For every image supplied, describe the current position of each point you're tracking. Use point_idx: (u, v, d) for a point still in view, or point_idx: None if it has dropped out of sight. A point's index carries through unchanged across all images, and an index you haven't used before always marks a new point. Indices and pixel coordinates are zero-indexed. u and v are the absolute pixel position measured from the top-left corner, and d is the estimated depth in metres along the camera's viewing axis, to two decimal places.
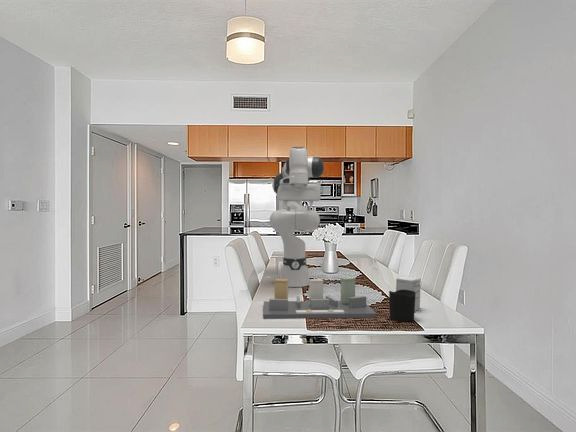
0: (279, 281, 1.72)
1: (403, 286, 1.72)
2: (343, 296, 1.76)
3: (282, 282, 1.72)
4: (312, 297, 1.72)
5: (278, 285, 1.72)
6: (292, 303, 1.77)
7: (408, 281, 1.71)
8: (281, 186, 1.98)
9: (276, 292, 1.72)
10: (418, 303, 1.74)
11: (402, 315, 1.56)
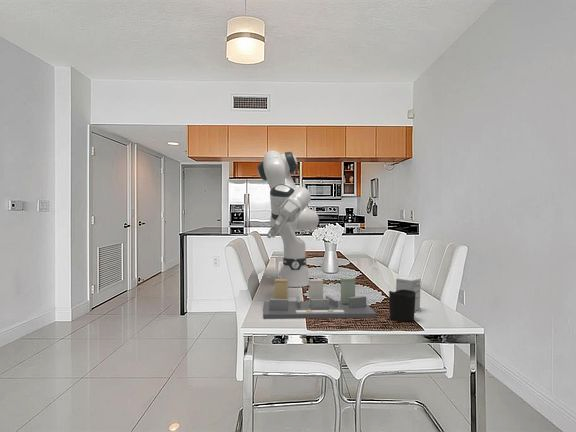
0: (279, 281, 1.72)
1: (403, 286, 1.72)
2: (343, 296, 1.76)
3: (282, 282, 1.72)
4: (312, 297, 1.72)
5: (278, 285, 1.72)
6: (292, 303, 1.77)
7: (408, 281, 1.71)
8: (296, 209, 1.83)
9: (276, 292, 1.72)
10: (418, 303, 1.74)
11: (402, 315, 1.56)
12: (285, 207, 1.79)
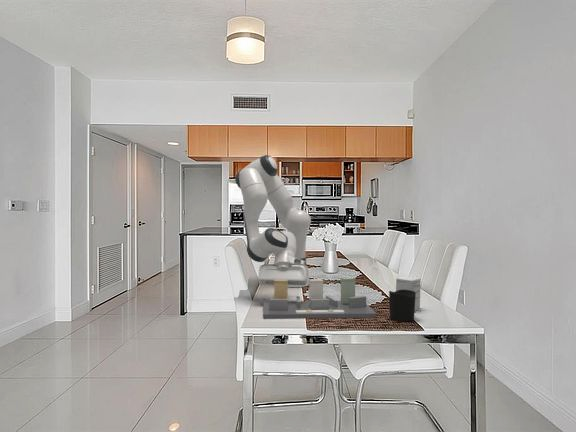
0: (279, 281, 1.71)
1: (402, 286, 1.72)
2: (343, 296, 1.76)
3: (282, 282, 1.71)
4: (312, 297, 1.72)
5: (278, 285, 1.71)
6: (292, 303, 1.77)
7: (408, 281, 1.71)
8: None
9: (276, 292, 1.72)
10: (418, 303, 1.74)
11: (402, 315, 1.56)
12: (306, 278, 1.77)
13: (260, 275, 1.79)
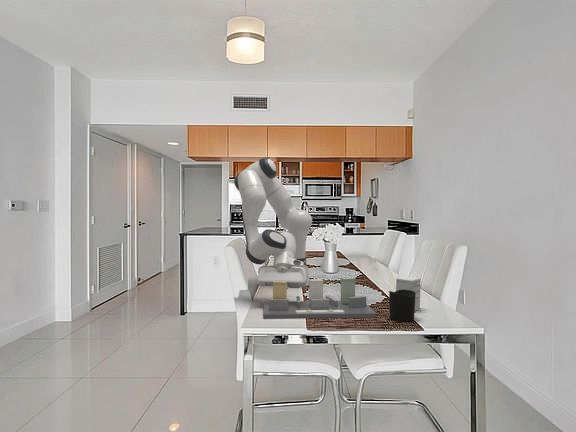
0: (278, 283, 1.68)
1: (403, 286, 1.72)
2: (343, 296, 1.76)
3: (281, 284, 1.68)
4: (312, 297, 1.72)
5: (277, 287, 1.68)
6: (292, 303, 1.77)
7: (408, 281, 1.71)
8: None
9: (274, 294, 1.68)
10: (418, 303, 1.74)
11: (402, 314, 1.56)
12: (306, 280, 1.74)
13: (259, 277, 1.76)
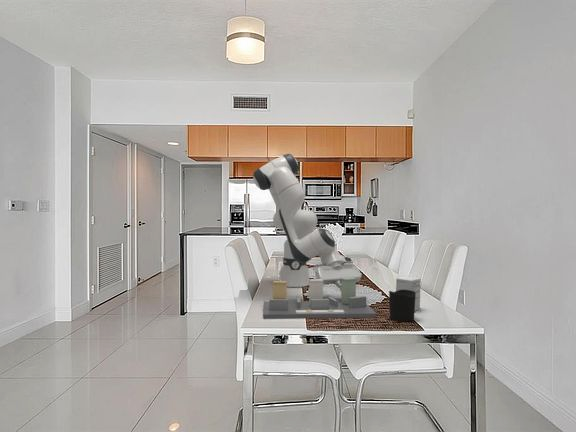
0: (278, 283, 1.68)
1: (403, 286, 1.72)
2: (343, 296, 1.76)
3: (281, 284, 1.68)
4: (312, 297, 1.72)
5: (277, 287, 1.68)
6: (292, 303, 1.77)
7: (408, 281, 1.71)
8: None
9: (274, 294, 1.68)
10: (418, 303, 1.74)
11: (402, 315, 1.56)
12: None
13: (321, 276, 1.79)
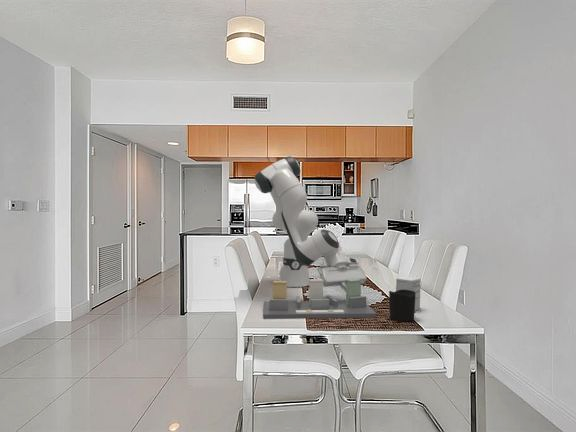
0: (278, 283, 1.68)
1: (403, 286, 1.72)
2: (348, 298, 1.73)
3: (281, 284, 1.68)
4: (312, 297, 1.72)
5: (277, 287, 1.68)
6: (292, 303, 1.77)
7: (408, 281, 1.71)
8: None
9: (274, 294, 1.68)
10: (418, 303, 1.74)
11: (402, 315, 1.56)
12: None
13: (326, 277, 1.75)
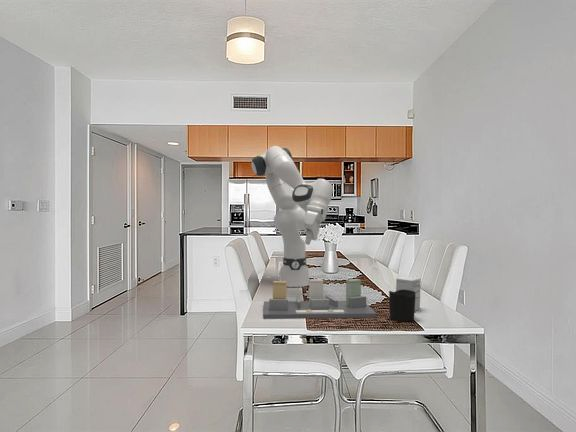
0: (278, 283, 1.68)
1: (403, 286, 1.72)
2: (348, 298, 1.73)
3: (281, 284, 1.68)
4: (312, 297, 1.72)
5: (277, 287, 1.68)
6: (292, 303, 1.77)
7: (408, 281, 1.71)
8: (318, 214, 1.80)
9: (274, 294, 1.68)
10: (418, 303, 1.74)
11: (402, 315, 1.56)
12: (305, 221, 1.77)
13: None
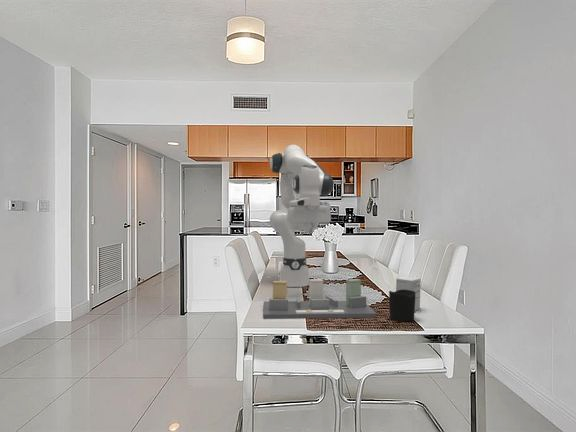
0: (278, 283, 1.68)
1: (403, 286, 1.72)
2: (348, 298, 1.73)
3: (281, 284, 1.68)
4: (312, 297, 1.72)
5: (277, 287, 1.68)
6: (292, 303, 1.77)
7: (408, 281, 1.71)
8: (295, 208, 1.85)
9: (274, 294, 1.68)
10: (418, 303, 1.74)
11: (402, 315, 1.56)
12: (287, 219, 1.88)
13: None
